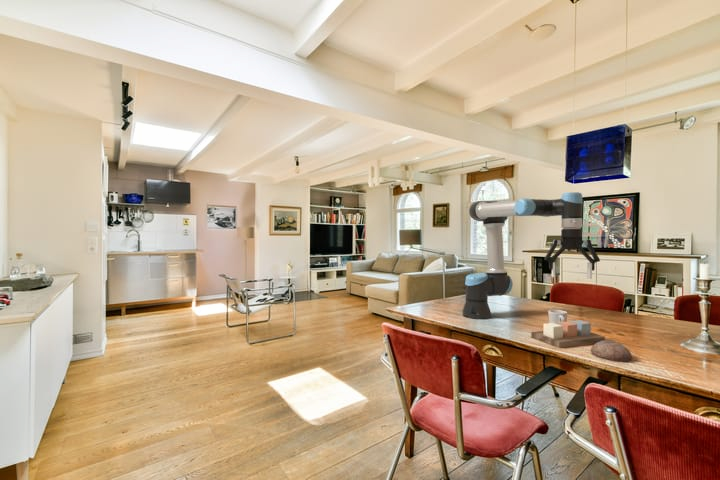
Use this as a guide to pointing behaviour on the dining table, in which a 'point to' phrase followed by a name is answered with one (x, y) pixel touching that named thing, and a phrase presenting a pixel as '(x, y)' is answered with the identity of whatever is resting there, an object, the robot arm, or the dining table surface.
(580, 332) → the block slate
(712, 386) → the dining table surface
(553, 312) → the cup
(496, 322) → the dining table surface
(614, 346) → the decorative stone
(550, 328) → the block cream
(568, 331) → the block terracotta
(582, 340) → the walnut board
